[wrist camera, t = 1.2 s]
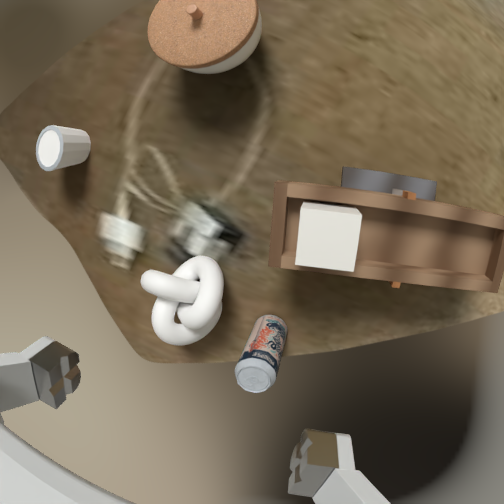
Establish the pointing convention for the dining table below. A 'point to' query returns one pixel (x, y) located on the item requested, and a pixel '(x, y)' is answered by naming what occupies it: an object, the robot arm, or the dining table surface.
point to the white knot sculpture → (186, 300)
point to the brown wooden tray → (398, 232)
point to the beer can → (262, 354)
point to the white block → (328, 236)
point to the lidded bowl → (205, 33)
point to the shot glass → (61, 147)
